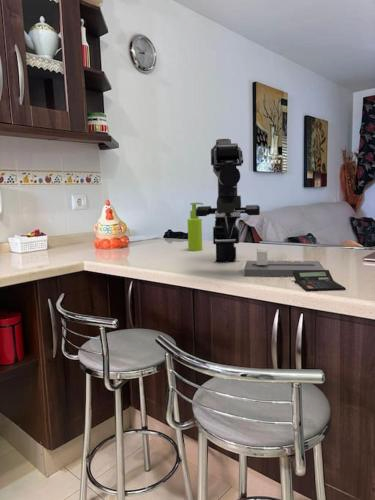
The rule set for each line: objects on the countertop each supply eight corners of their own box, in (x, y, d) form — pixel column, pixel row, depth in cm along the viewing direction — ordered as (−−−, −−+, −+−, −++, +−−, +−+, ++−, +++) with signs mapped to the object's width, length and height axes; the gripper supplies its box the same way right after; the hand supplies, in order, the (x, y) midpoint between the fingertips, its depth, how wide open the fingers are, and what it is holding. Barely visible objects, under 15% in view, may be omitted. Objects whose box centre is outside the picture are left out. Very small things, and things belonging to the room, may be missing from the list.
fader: (256, 265, 112) (256, 251, 112) (257, 261, 118) (257, 248, 117) (267, 265, 112) (267, 251, 111) (267, 261, 117) (267, 248, 117)
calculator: (306, 292, 91) (306, 280, 91) (292, 281, 103) (292, 270, 102) (345, 291, 91) (345, 279, 91) (327, 280, 103) (327, 269, 102)
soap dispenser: (203, 251, 159) (202, 202, 156) (187, 251, 160) (185, 203, 157) (205, 249, 165) (204, 202, 162) (189, 249, 166) (188, 202, 163)
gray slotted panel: (244, 276, 109) (243, 268, 109) (246, 266, 123) (246, 260, 123) (324, 277, 105) (325, 269, 104) (318, 267, 118) (318, 260, 118)
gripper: (191, 188, 108) (193, 243, 110) (258, 185, 104) (259, 242, 106) (198, 188, 118) (199, 238, 121) (259, 186, 115) (259, 237, 117)
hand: (228, 239), depth 116 cm, fingers closed
